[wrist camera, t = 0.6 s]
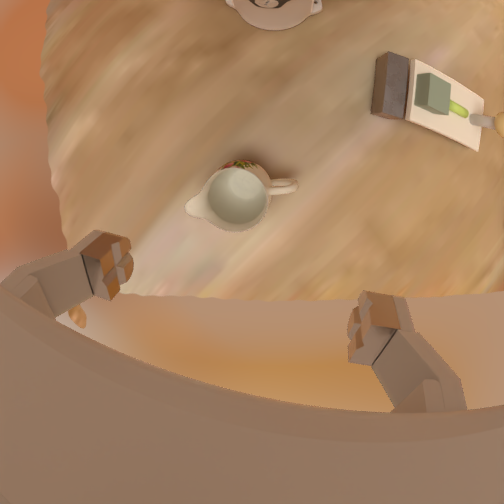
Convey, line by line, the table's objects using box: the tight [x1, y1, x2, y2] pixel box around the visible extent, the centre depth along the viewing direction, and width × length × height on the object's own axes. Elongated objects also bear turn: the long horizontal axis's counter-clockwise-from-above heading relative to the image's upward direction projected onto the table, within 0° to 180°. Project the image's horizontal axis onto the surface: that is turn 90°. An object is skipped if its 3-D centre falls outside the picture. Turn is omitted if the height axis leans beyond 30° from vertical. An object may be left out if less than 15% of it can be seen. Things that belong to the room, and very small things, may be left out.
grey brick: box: [371, 51, 409, 119], centre depth 37 cm, size 12×25×7 cm, turn 84°
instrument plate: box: [405, 59, 504, 151], centre depth 30 cm, size 20×12×14 cm, turn 83°
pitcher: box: [184, 160, 298, 232], centre depth 47 cm, size 11×18×14 cm, turn 100°
